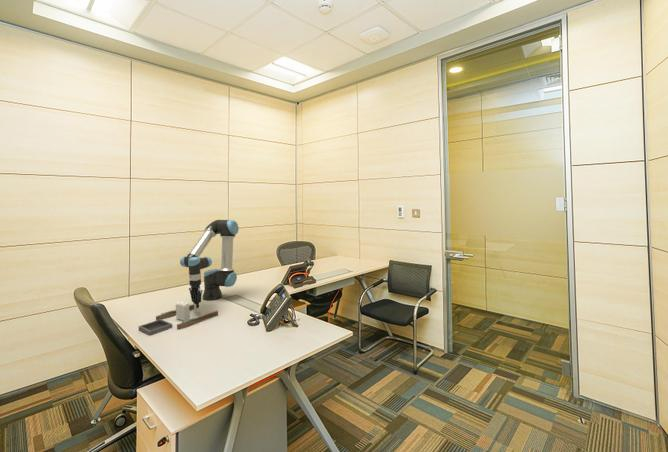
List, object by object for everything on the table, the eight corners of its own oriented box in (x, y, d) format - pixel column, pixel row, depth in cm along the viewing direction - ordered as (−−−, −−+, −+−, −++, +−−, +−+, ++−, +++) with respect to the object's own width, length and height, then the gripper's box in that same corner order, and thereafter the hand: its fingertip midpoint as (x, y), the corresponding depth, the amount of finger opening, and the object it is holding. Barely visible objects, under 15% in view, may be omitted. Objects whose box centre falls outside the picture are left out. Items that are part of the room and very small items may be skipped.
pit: (138, 330, 204) (138, 326, 204) (160, 322, 216) (160, 319, 215) (150, 335, 196) (149, 331, 196) (172, 327, 208) (172, 323, 208)
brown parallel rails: (155, 320, 220) (155, 315, 219) (195, 307, 244) (195, 303, 244) (178, 329, 204) (178, 324, 204) (218, 315, 229) (218, 310, 228)
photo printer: (175, 319, 222) (174, 301, 221) (180, 316, 226) (179, 299, 225) (185, 321, 218) (184, 303, 216) (190, 319, 221) (190, 301, 220)
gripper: (184, 279, 228) (186, 311, 231) (195, 282, 221) (197, 315, 223) (194, 277, 234) (196, 308, 237) (205, 279, 227) (207, 312, 230)
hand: (196, 311), depth 230 cm, fingers closed
